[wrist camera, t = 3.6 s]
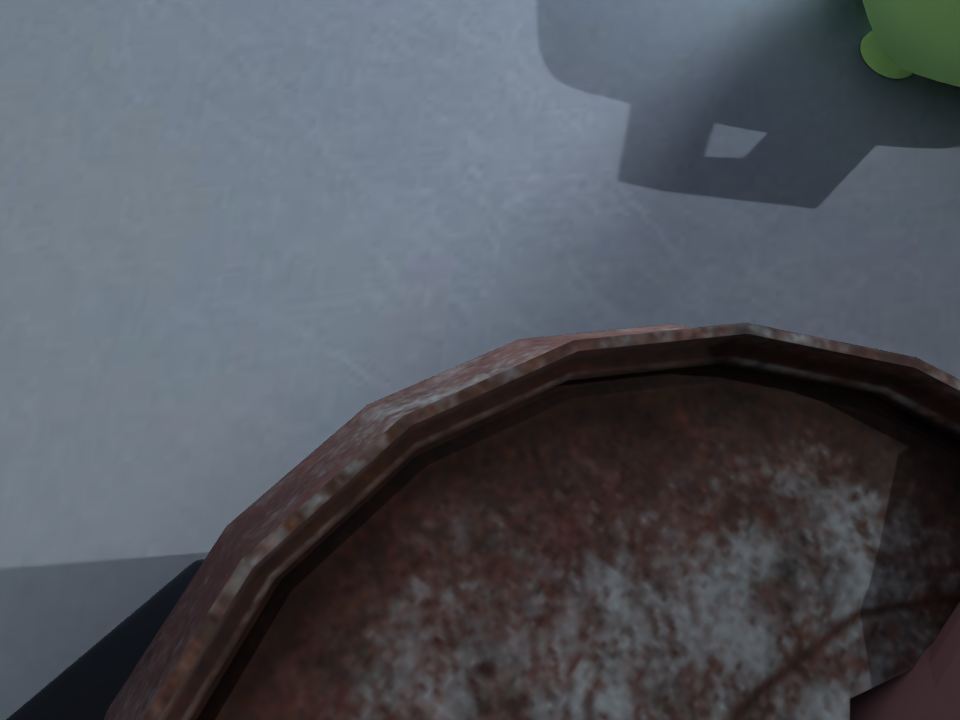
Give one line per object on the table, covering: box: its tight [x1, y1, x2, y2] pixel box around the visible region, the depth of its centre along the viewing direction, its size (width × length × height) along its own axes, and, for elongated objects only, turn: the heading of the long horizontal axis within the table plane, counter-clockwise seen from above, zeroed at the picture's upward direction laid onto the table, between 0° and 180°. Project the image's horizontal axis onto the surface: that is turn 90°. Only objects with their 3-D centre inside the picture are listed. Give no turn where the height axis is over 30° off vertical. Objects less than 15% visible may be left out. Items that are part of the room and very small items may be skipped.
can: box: [104, 323, 960, 720], centre depth 9 cm, size 6×6×14 cm
